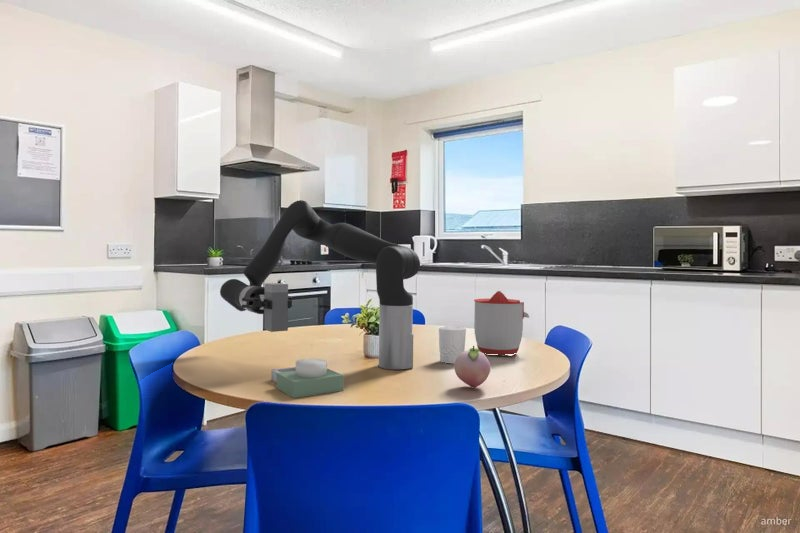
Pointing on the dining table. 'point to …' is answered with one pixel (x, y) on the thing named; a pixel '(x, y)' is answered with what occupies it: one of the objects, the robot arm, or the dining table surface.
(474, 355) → the decorative fruit
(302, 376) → the shallow green tray
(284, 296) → the tall grey square pillar
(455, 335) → the white cup
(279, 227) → the robot arm
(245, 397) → the dining table surface
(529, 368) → the dining table surface
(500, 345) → the citrus juicer
